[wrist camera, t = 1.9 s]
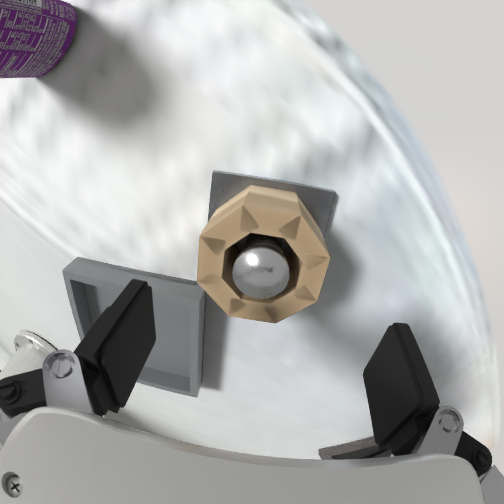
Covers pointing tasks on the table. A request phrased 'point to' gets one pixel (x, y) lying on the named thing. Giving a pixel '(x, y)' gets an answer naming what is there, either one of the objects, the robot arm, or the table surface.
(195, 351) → the charcoal tray
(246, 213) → the maple ring
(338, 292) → the table surface
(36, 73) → the beverage can
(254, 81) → the table surface
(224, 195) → the grey knobbed square plate
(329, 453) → the picture frame
